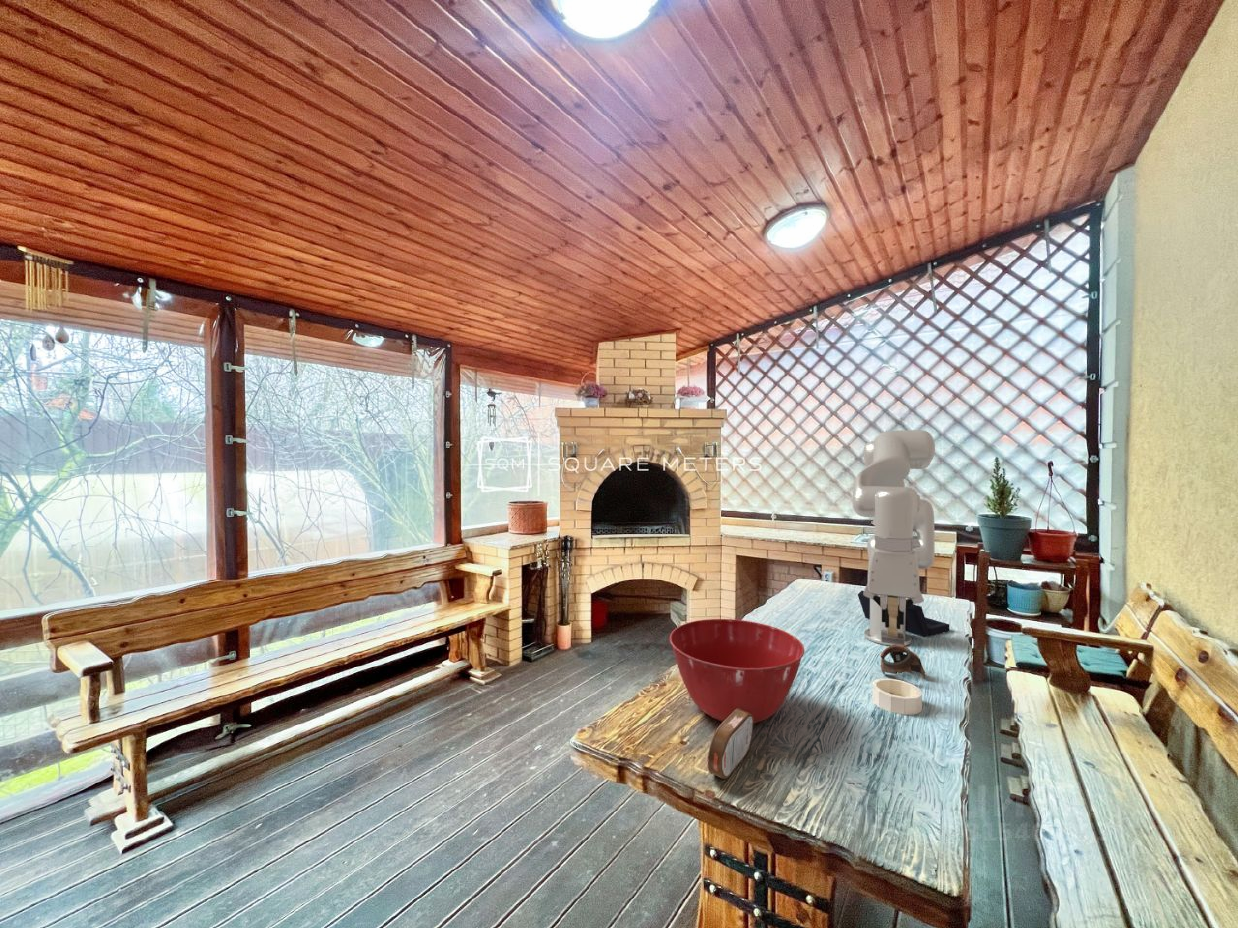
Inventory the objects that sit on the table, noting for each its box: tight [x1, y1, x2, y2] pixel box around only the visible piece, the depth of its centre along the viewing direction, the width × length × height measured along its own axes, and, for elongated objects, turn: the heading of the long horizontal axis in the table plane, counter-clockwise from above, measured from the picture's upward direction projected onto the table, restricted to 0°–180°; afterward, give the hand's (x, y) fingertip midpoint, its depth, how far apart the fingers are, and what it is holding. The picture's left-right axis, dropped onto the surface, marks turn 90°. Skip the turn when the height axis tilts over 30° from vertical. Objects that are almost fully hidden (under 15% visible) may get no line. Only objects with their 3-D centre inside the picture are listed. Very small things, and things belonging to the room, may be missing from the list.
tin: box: [707, 708, 754, 780], centre depth 91 cm, size 15×3×8 cm, turn 144°
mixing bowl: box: [669, 618, 805, 725], centre depth 111 cm, size 28×28×16 cm
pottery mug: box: [880, 644, 926, 680], centre depth 129 cm, size 12×9×8 cm
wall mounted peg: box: [881, 596, 904, 645], centre depth 114 cm, size 4×4×10 cm
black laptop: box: [857, 589, 950, 638], centre depth 166 cm, size 21×16×10 cm
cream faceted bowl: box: [871, 678, 923, 716], centre depth 114 cm, size 10×10×4 cm
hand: (892, 625), depth 114 cm, fingers closed on wall mounted peg
